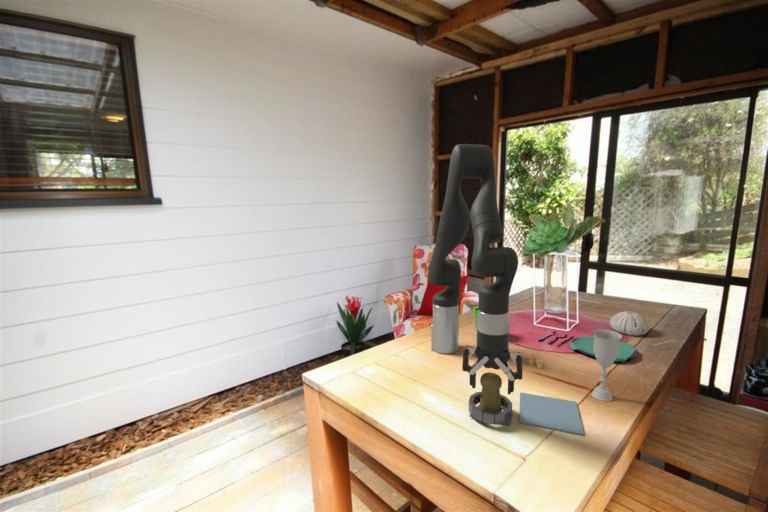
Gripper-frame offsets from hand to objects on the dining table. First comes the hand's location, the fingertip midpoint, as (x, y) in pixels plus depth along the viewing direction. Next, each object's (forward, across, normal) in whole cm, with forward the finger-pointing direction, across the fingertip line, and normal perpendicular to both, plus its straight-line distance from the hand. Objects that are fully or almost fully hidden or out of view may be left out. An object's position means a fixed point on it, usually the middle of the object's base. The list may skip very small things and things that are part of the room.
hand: (491, 389), depth 90 cm
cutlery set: (+8, +29, +54) cm, 62 cm away
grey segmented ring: (+7, 0, 0) cm, 7 cm away
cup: (+7, -7, +53) cm, 54 cm away
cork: (+7, 0, 0) cm, 7 cm away
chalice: (+7, +28, +19) cm, 35 cm away
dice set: (+8, +11, +34) cm, 37 cm away
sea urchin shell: (+7, +47, +76) cm, 90 cm away
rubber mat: (+7, +14, +6) cm, 17 cm away
